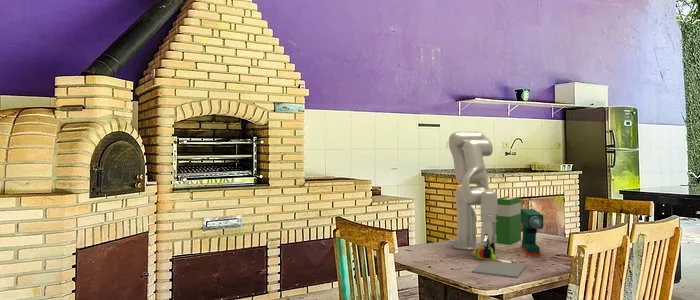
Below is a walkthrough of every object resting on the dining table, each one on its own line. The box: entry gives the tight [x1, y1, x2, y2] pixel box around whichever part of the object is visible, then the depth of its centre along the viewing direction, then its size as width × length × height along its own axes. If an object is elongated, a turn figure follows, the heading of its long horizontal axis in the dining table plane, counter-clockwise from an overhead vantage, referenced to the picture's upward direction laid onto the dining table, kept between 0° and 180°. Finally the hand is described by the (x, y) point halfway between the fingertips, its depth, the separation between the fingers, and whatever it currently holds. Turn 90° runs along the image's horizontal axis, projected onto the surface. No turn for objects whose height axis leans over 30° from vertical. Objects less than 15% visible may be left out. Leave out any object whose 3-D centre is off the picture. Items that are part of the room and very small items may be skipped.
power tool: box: [520, 208, 544, 257], centre depth 226 cm, size 32×7×20 cm, turn 168°
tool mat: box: [471, 260, 527, 279], centre depth 199 cm, size 18×22×1 cm
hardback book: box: [495, 196, 522, 246], centre depth 258 cm, size 18×7×24 cm, turn 141°
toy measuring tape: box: [472, 245, 516, 263], centre depth 215 cm, size 6×19×7 cm, turn 53°
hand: (489, 255), depth 217 cm, fingers open, 8 cm apart
